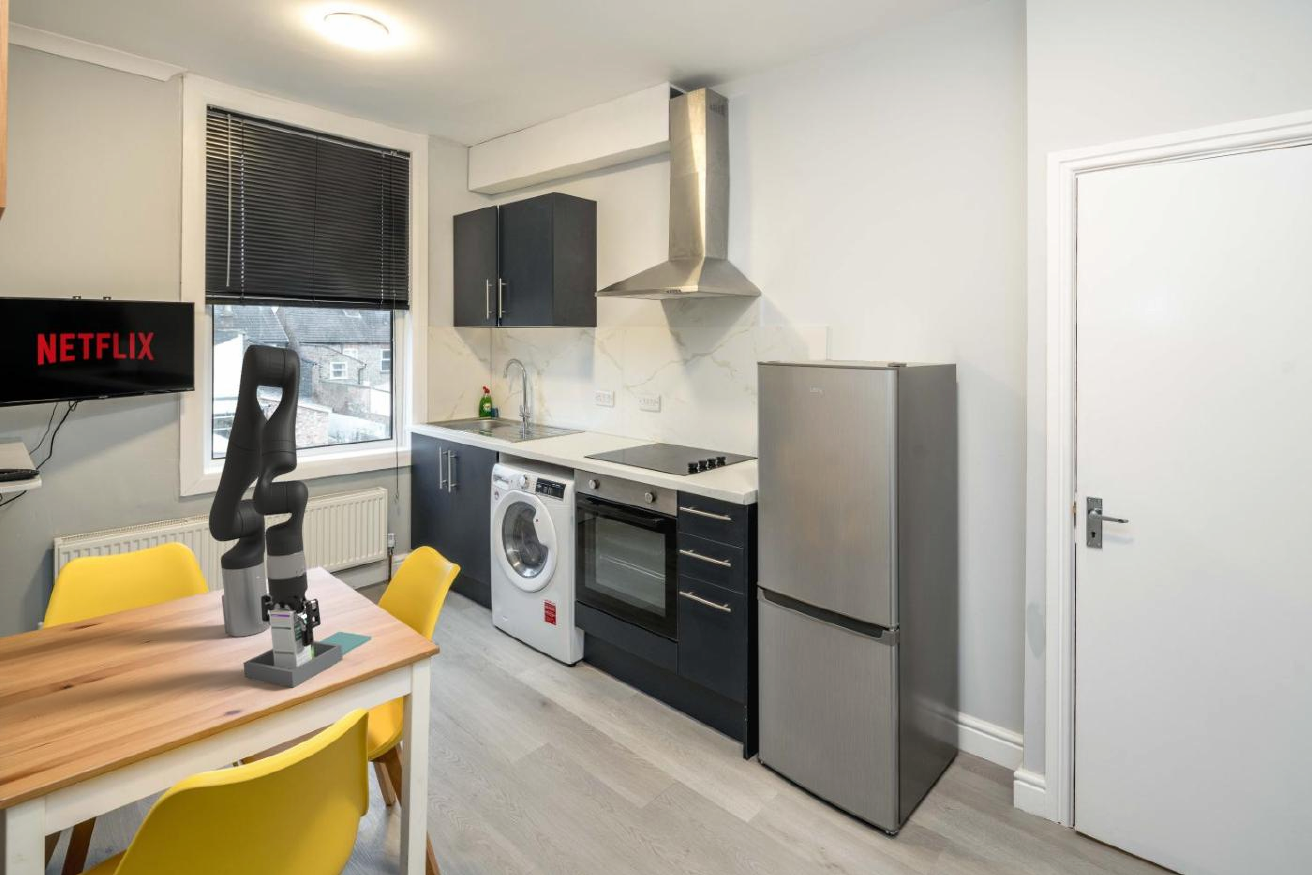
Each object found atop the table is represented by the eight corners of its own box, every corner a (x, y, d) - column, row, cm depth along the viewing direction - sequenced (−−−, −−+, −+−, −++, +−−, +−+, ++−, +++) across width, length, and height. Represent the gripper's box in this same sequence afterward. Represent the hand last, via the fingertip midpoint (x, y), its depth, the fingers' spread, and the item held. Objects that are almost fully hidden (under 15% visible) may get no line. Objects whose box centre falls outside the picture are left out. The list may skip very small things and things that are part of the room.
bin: (244, 678, 148) (243, 662, 147) (296, 651, 160) (295, 637, 160) (293, 687, 143) (292, 671, 143) (342, 659, 156) (341, 645, 155)
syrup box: (297, 675, 148) (292, 612, 147) (273, 673, 150) (268, 610, 148) (315, 664, 154) (310, 602, 152) (292, 661, 155) (287, 600, 153)
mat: (306, 650, 161) (306, 648, 161) (339, 633, 170) (338, 631, 170) (340, 656, 158) (340, 654, 158) (371, 639, 167) (371, 636, 167)
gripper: (247, 573, 148) (253, 645, 150) (298, 580, 143) (304, 654, 145) (276, 563, 155) (282, 631, 157) (326, 569, 150) (331, 639, 152)
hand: (292, 642), depth 151 cm, fingers open, 8 cm apart
